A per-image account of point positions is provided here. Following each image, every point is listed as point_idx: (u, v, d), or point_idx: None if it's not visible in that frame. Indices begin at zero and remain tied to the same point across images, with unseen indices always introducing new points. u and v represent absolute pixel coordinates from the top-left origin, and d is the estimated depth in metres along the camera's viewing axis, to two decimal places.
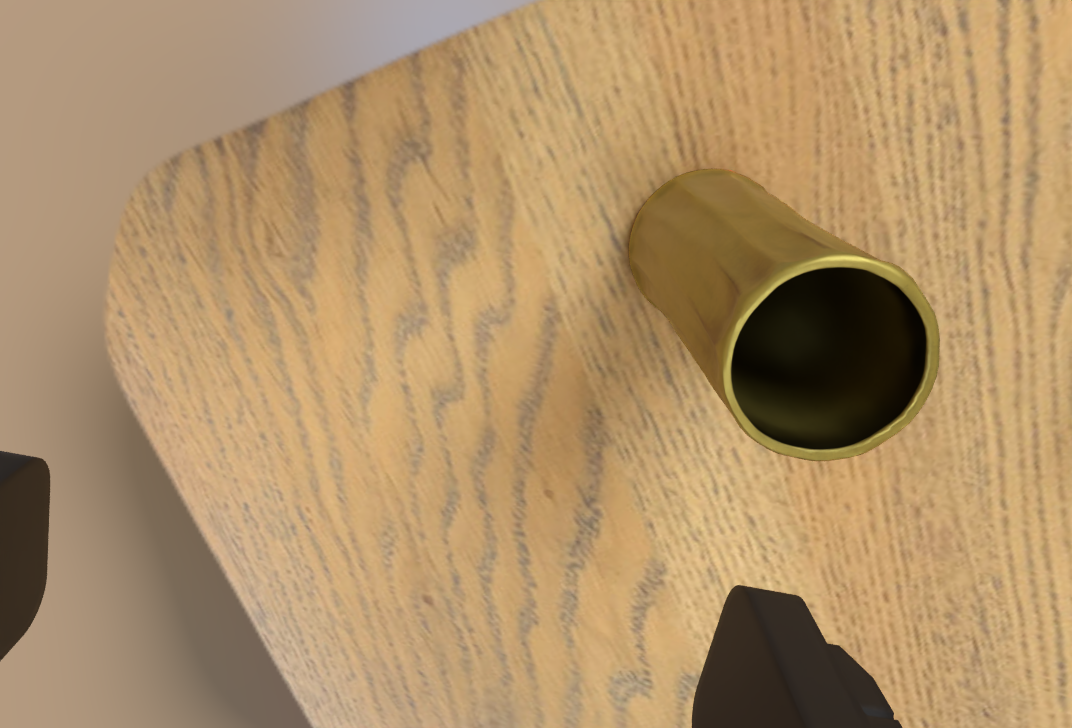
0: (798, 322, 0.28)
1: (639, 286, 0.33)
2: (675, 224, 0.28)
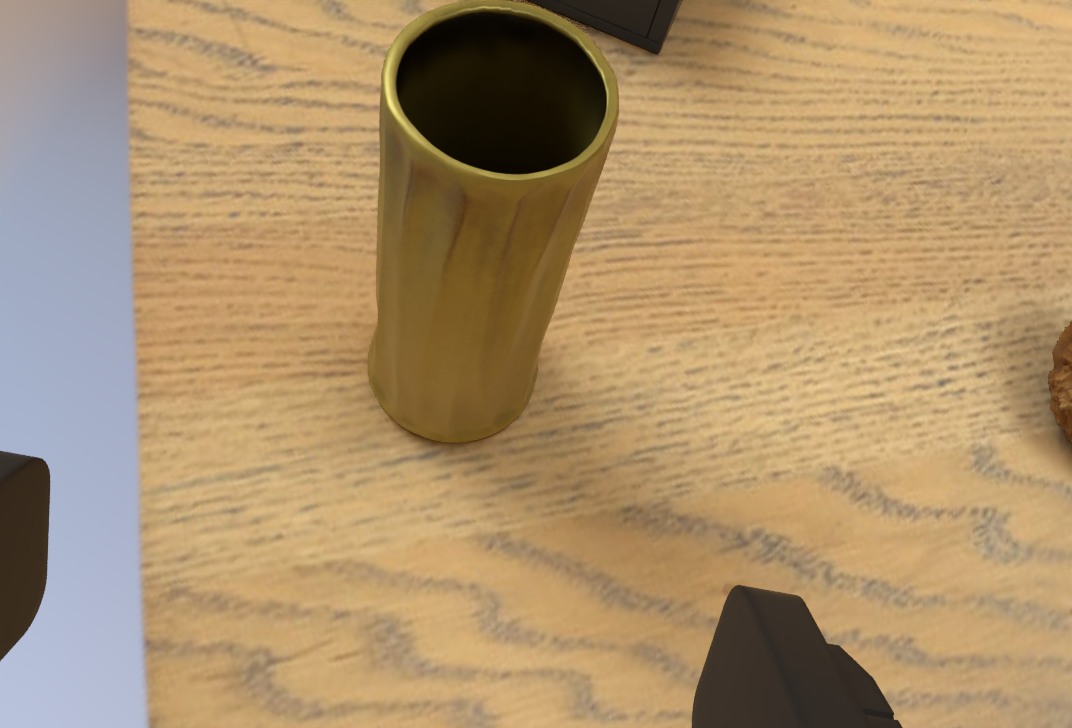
0: None
1: (480, 435, 0.29)
2: (395, 346, 0.25)
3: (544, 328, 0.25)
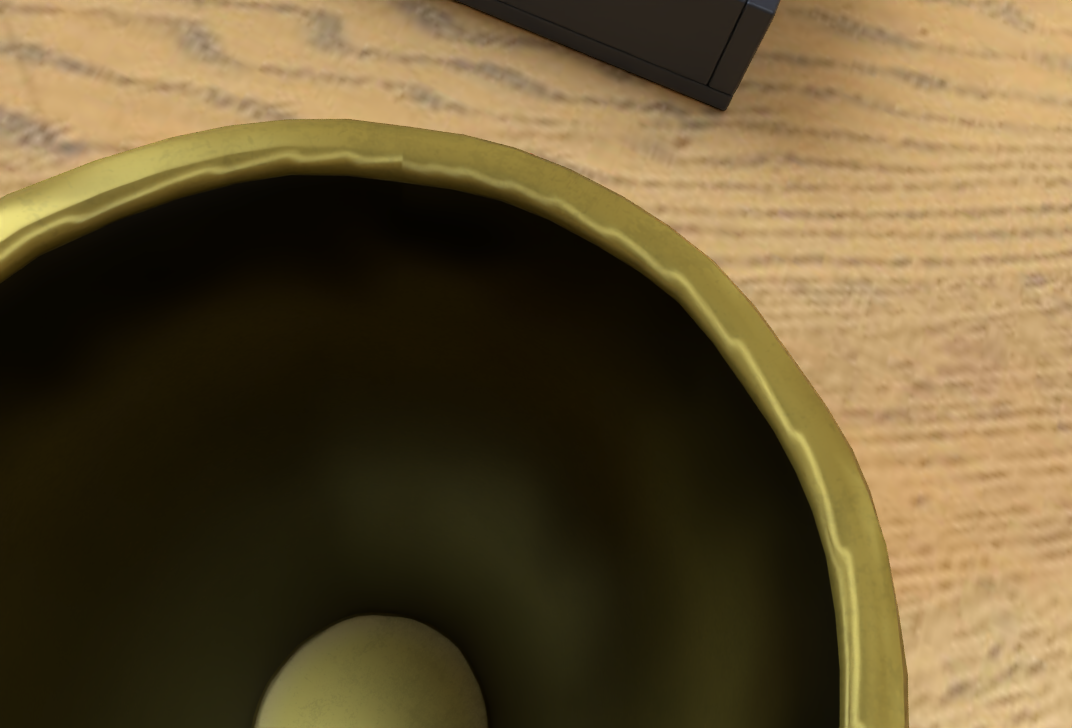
0: (494, 585, 0.11)
1: None
2: None
3: None
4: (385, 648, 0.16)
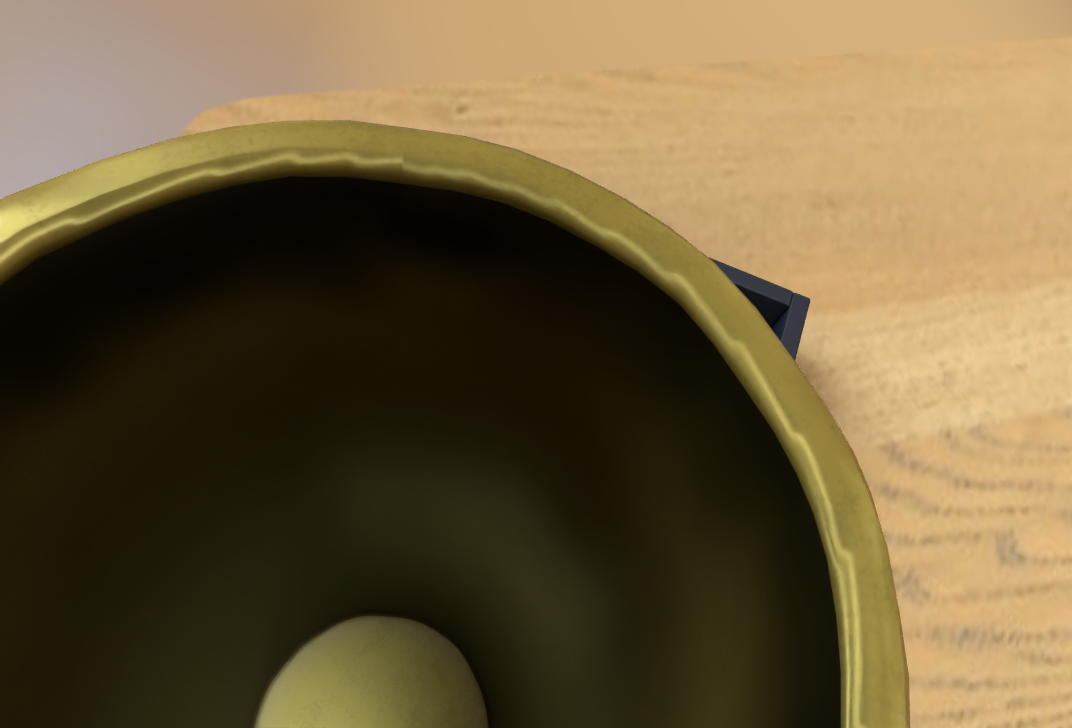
0: (494, 587, 0.11)
1: None
2: None
3: None
4: (385, 649, 0.16)
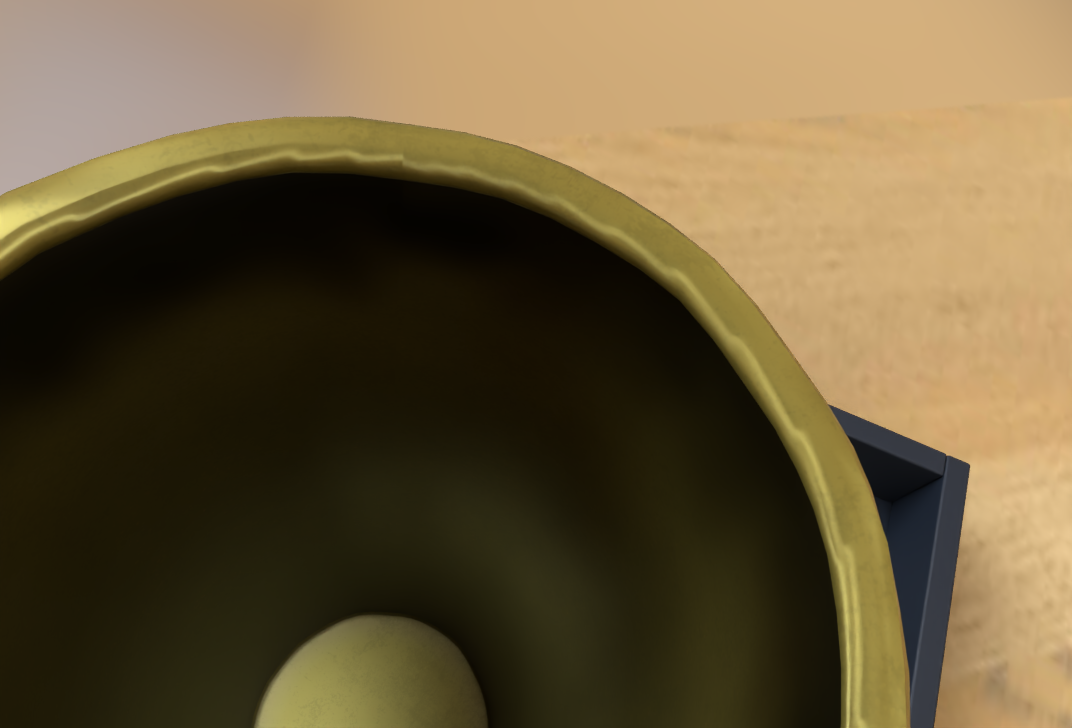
0: (494, 585, 0.11)
1: None
2: None
3: None
4: (385, 647, 0.16)
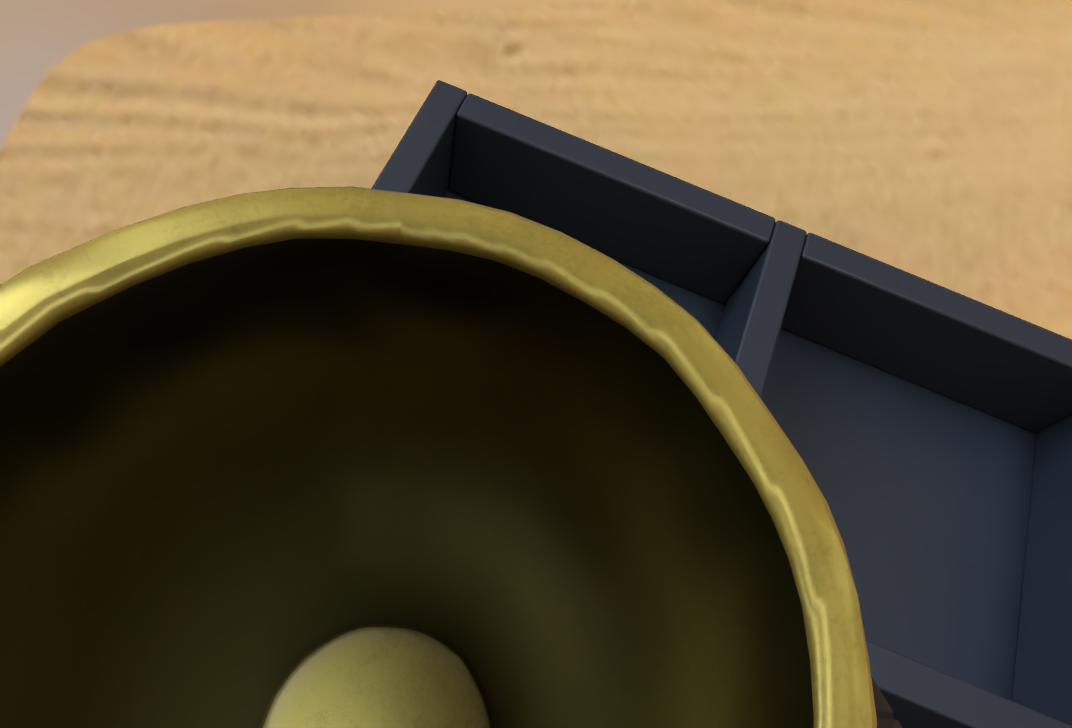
0: (494, 603, 0.12)
1: None
2: None
3: None
4: (389, 659, 0.16)
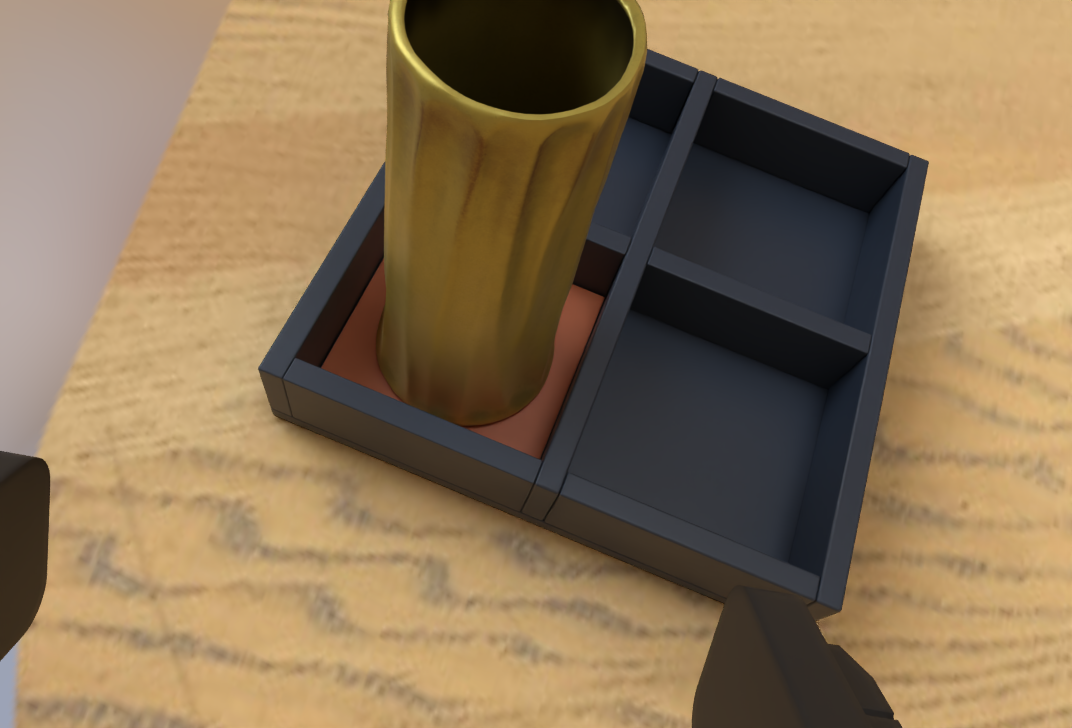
0: None
1: (495, 417, 0.28)
2: (405, 320, 0.24)
3: (563, 299, 0.23)
4: None
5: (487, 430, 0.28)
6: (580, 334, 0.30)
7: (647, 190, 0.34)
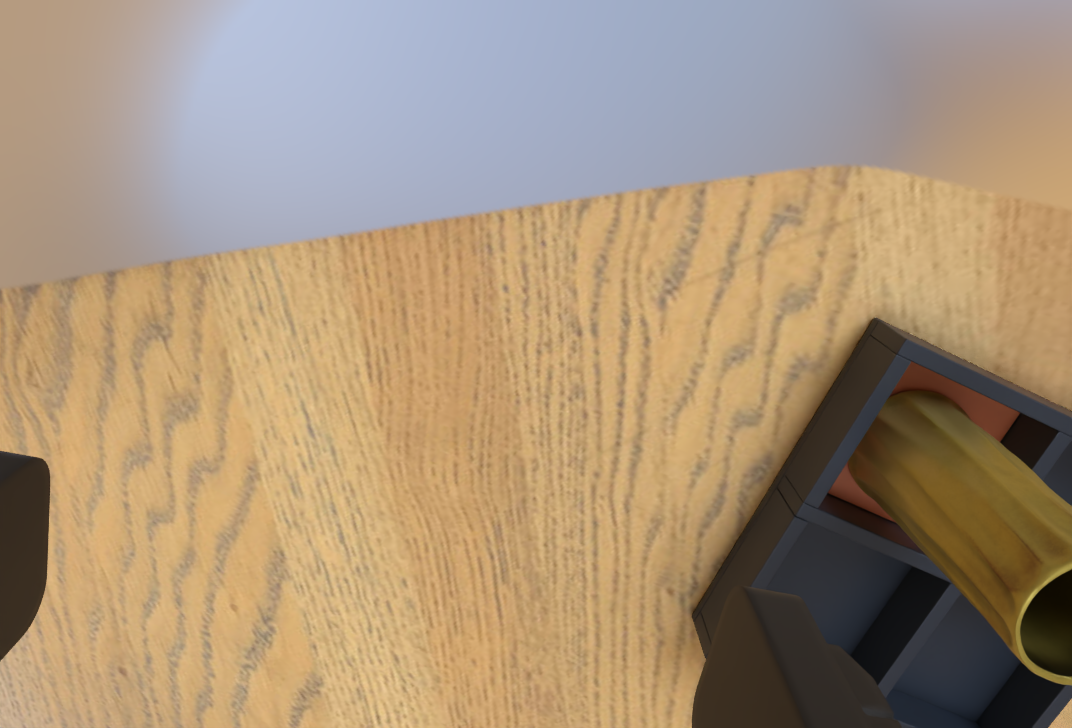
0: None
1: (851, 467, 0.41)
2: (925, 448, 0.36)
3: (924, 552, 0.36)
4: None
5: None
6: None
7: None
